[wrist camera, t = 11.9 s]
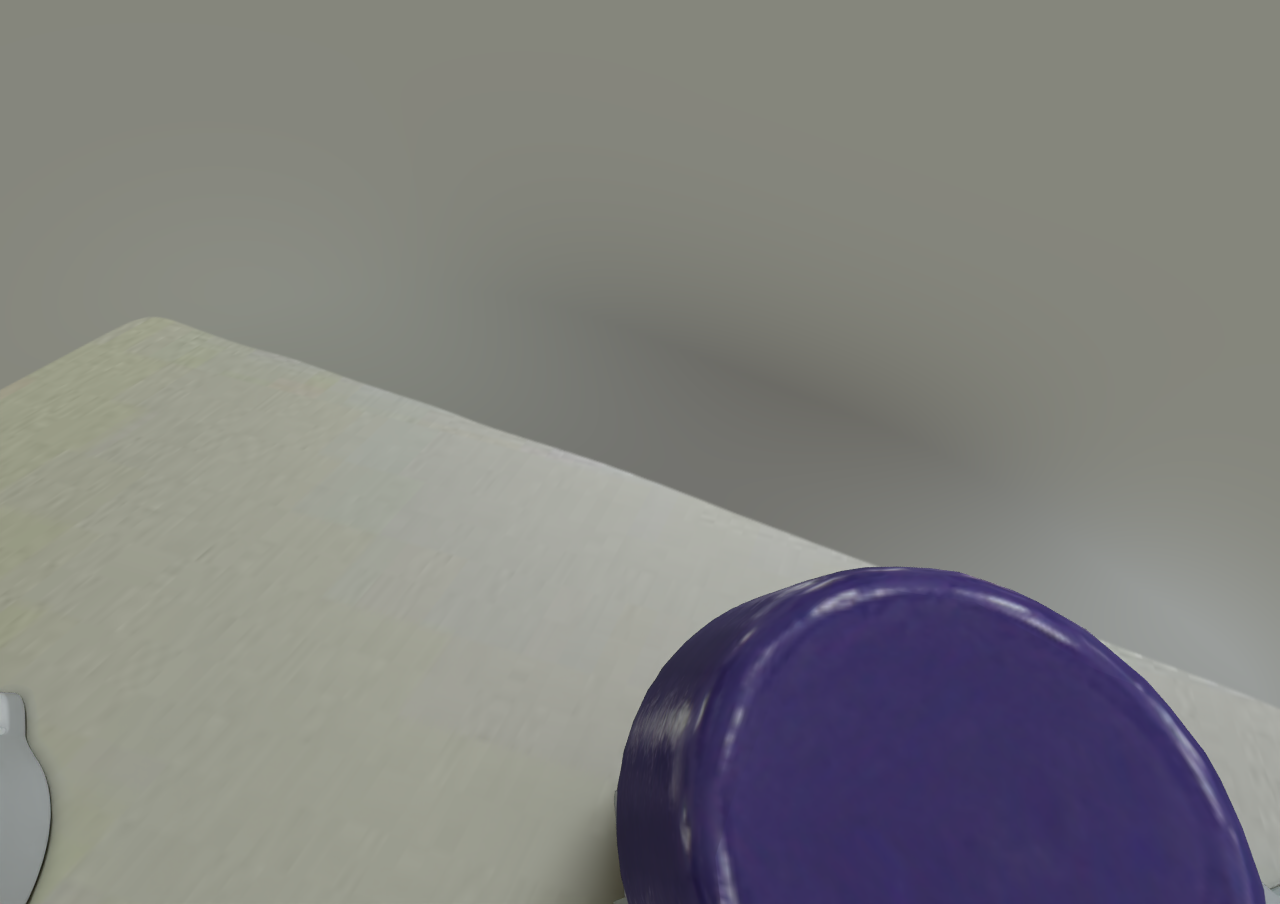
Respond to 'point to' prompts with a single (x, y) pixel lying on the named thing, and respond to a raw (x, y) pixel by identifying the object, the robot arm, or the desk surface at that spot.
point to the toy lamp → (916, 760)
